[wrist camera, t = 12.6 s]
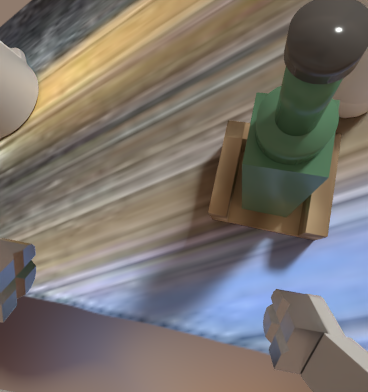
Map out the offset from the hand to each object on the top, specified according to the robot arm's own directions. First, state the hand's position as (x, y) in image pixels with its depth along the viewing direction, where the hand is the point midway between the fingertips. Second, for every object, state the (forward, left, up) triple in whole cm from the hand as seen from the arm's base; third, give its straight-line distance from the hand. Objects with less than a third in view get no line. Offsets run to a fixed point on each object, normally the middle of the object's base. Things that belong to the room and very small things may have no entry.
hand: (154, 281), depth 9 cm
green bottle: (+4, +10, -24) cm, 26 cm away
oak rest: (+4, +11, -25) cm, 28 cm away
